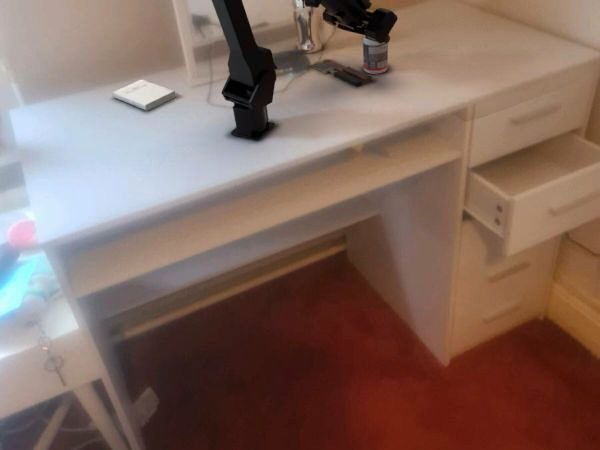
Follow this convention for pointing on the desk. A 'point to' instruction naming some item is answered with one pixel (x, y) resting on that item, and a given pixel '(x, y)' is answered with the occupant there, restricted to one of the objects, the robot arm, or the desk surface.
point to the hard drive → (144, 94)
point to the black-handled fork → (337, 74)
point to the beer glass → (307, 26)
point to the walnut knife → (349, 71)
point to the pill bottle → (375, 56)
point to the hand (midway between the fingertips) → (380, 37)
